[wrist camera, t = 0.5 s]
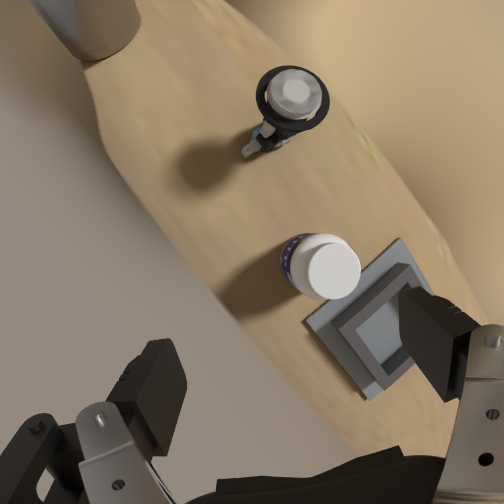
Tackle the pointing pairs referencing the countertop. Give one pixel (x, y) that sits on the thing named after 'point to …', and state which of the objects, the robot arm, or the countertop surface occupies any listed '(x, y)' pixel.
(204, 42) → the countertop surface
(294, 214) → the countertop surface
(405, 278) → the socket
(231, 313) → the countertop surface
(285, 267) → the pill bottle
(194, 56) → the countertop surface
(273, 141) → the push button
